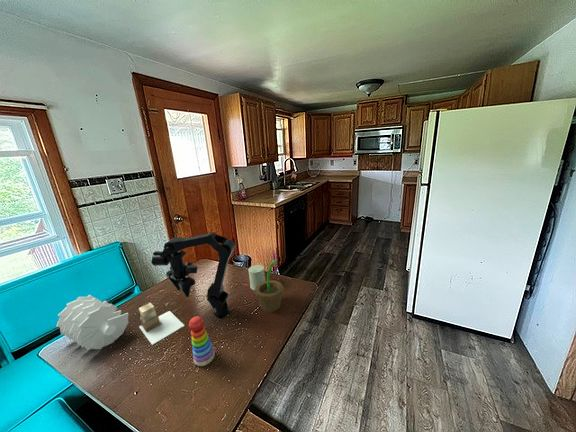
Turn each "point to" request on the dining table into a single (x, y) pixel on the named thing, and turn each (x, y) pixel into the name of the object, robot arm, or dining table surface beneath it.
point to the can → (256, 275)
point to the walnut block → (150, 323)
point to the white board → (163, 328)
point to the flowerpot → (270, 291)
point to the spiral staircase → (92, 322)
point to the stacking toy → (200, 342)
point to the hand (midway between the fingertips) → (183, 293)
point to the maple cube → (147, 312)
